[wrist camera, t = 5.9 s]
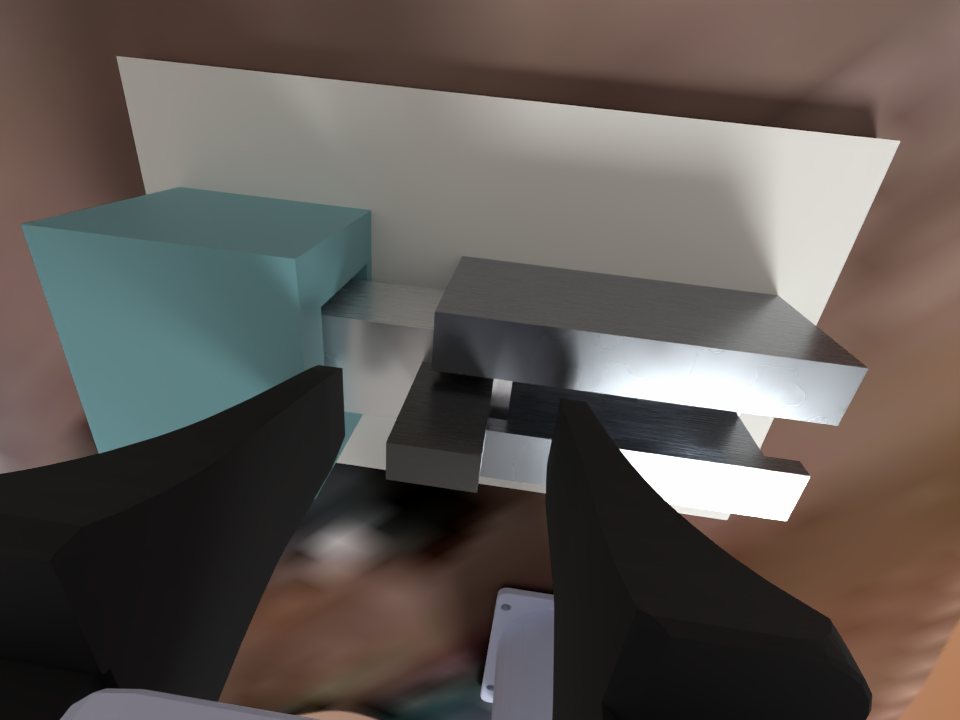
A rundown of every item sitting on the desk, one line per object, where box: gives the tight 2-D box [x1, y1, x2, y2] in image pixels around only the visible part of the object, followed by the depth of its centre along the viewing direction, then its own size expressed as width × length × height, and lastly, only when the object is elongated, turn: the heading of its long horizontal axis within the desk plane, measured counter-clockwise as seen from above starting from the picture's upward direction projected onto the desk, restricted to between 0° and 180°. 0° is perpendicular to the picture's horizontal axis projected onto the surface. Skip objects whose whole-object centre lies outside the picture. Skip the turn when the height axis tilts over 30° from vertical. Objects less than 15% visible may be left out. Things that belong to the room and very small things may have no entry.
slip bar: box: [321, 278, 513, 493], centre depth 13 cm, size 3×10×7 cm, turn 85°
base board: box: [116, 56, 900, 520], centre depth 17 cm, size 14×22×1 cm, turn 85°
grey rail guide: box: [431, 256, 868, 521], centre depth 15 cm, size 5×10×5 cm, turn 85°
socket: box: [21, 187, 372, 499], centre depth 15 cm, size 7×6×6 cm
